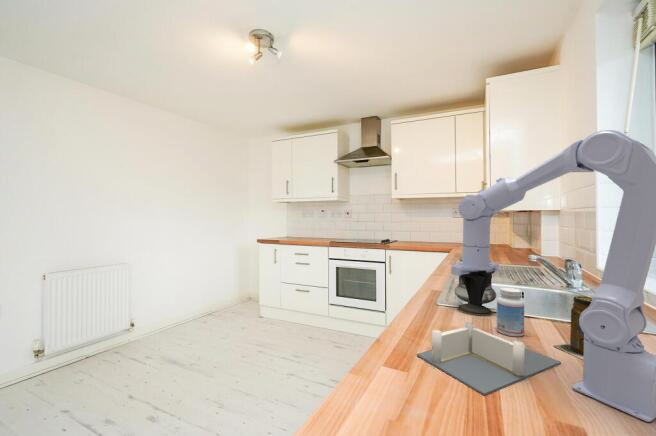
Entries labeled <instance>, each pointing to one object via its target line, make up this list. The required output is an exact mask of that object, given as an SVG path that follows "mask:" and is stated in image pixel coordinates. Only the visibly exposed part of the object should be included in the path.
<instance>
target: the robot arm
mask: <svg viewBox="0 0 656 436" xmlns="http://www.w3.org/2000/svg"><path fill="white" fill-rule="evenodd" d="M593 172H598V173H601V174H602V175H604V176H607V178H608V179H609V180H611V182H613V183H614V184H616V185H617V186H618V187H619V188H620V189H621V190H622V191H623V194H622V198H621V202H620V206H619V208H618V209H619V210H618V213H617V218H616V221H615V225H614V229H613V233H612V237H611V242H610V244H609V249H608V253H607V256H606V261H605V265H604V269H603V273H602V277H601V281H600V284H599V286H598V287H597V289H596V291H595V293H594V294H593V295H592V297H591V298H592V301H591V304H590V306H589V307H588V308H587V309H585V310H584V311H583V312H582V313H581V315H580V318H579V324H580V327H581V329H582V331H583V333H584V360H583V371H582V372H583V374H582V375H583V376H582V380H581V381H579V382H577V383H575V384H573V385H572V386H571V388H572V389H573V390H574V391H576V392H578V393H580V394H583V395H586V396H588V397H590V398H591V399H595V400H597V401H599V402H601V403H604V404H606V405H608V406H610V407H613V408H616V409H618V410H619V411H622V412H624V413H626V414H629V415H631V416H633V417H634V418H638V419H639V420H643V421H645V422H648V423H650V422H652V421H654V419H656V355H654V354H653V353H651V352H649V351H647V350H645V345H644V344H643V343H642V341H641V339H640V338H639V335H640V334H642V333H643V332H644V331H645V329H646V328H647V324H648V323H647V322H648V321H647V318H646V315H645V313H644V308H643V307H644V303H645V297H644V289H645V284H646V281H647V277H648V273H649V270H650V268H651V262H652V261H653V260H652V259H653V256H654V252H655V248H656V155H655V153H654V151H653V149H651V148H650V147H648V146H647V145H645V144H643V143H641V142H640V141H638V140H637V139H634V138H631V137H630V136H629V135H626V134H625V133H624V132H621V131H620V130H616V129H602V130H598V131H596V132H593V133H591V134H589V135H588V136H587V137H585V139H580V140H577V141H575V142H572V143H571V144H570V145H569V146H567V147H566V148H564V149H563V150H562V151H560V152H559V153H557V154H555V155H553V156H552V157H550V158H548V159H547V160H545V161H542V163H540V164H537V166H535V167H533V168H532V169H530V170H528V171H526V172H525V173H524V174H521V175H520V176H518V177H516V178H514V177H510V176H509V177H499V178H498V179H496V183H494V184H492V185H490V186H489V187H487V188H485V189H480V190H478V191H477V194H476V195H475V194H466V195H465V196H464V197H463V198H461V200H460V201H459V202H458V210H457V211H458V213H459V214H460V216H461V217H462V220H463V222H462V226H463V227H462V254H463V262H460V263H459V264H458V265H455V264H454V265H451V266H450V267H451V268H450V270H451V271H450V273H451V275H452V276H453V275H454V276H458V277H459V276H460V277H461V279H462V280H463V282H464V284H465V287H466V290H467V293H468V297H469V301H470V303H473V304H477V305H478V304H481V302H482V298H483V295H484V292H485V289H486V287H487V285H488V283H489V282H490V280H491V281H492V279H493V274H488V273H486V272H488V271H495V272H499V266H500V265H499V262H492V261H491V262H490V260H491V257H490V255H491V254H490V253H491V250H490V249H491V248H490V245H491V244H490V243H491V222H492V218H493V217H494V216H495V214H496V213H497V212H500V211H502V210H504V209H506V208H509V207H510V206H512V205H515V204H517V203H519V202H521V201H523V200H524V198H525V196H526V193H527V192H529V191H531V190H533V189H535V188H537V187H540V186H542V185H545V184H547V183H548V182H549V183H550V182H551V181H553V180H555V179H557V178H561V177H563V176H564V175H567V174H570V173H593Z"/></svg>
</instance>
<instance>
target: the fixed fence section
mask: <svg viewBox="0 0 656 436" xmlns="http://www.w3.org/2000/svg"><path fill="white" fill-rule="evenodd" d="M474 328H475V324H474V323H473V322H467V321H466V322H464V326H463V327H459V328H455V329H451V330H447V331H443V332H442V331H441V330H439V329H432V330H431V331H432V332H431V350H432V361H433V362H435V363H441V361H442V360H446V359H449V358H452V357H456V356H459V355H462V354H466V353H468V352H471V353H473V352H472V329H474Z"/></svg>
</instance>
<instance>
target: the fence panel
mask: <svg viewBox="0 0 656 436" xmlns="http://www.w3.org/2000/svg"><path fill="white" fill-rule="evenodd" d="M524 348H526V347H525V343H524V342H522V341H519V340H514V341H510V340H507V339H504V338H502V337H499V336H497V335H494V334H493V333H490V332H487V331H484V330H482V329H480V328H477V327H474V329H472V352H473V353H475V354H477V355H479V356H481V357H483V358H485V359H487V360H489V361H491V362H493V363H496V364H498V365H500V366H502V367H504V368H506V369H508V370H510V371H512V372H513V373H515V374H517V375H524Z"/></svg>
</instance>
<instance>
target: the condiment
mask: <svg viewBox="0 0 656 436" xmlns="http://www.w3.org/2000/svg"><path fill="white" fill-rule="evenodd" d="M572 300H573V304H572V308H571V309H570V334H569V335H570V342H569V344H565V343H563V344H555V345H552V346H553V347H555V348H557V349H559V350H560V351H562V352H565V353H568V354H569V355H571V356H573V357H576V358H578V359H580V360H583V361H584V333H583V331H582V329H581V327H580V324H579V318H580V315H581V313H582V312H583V311H584V310H585V309H587V308H588V307H589V306H590V304H591V301H592V297H589V296H583V295H582V296H578V295H577V296H574V297H573V299H572Z"/></svg>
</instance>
